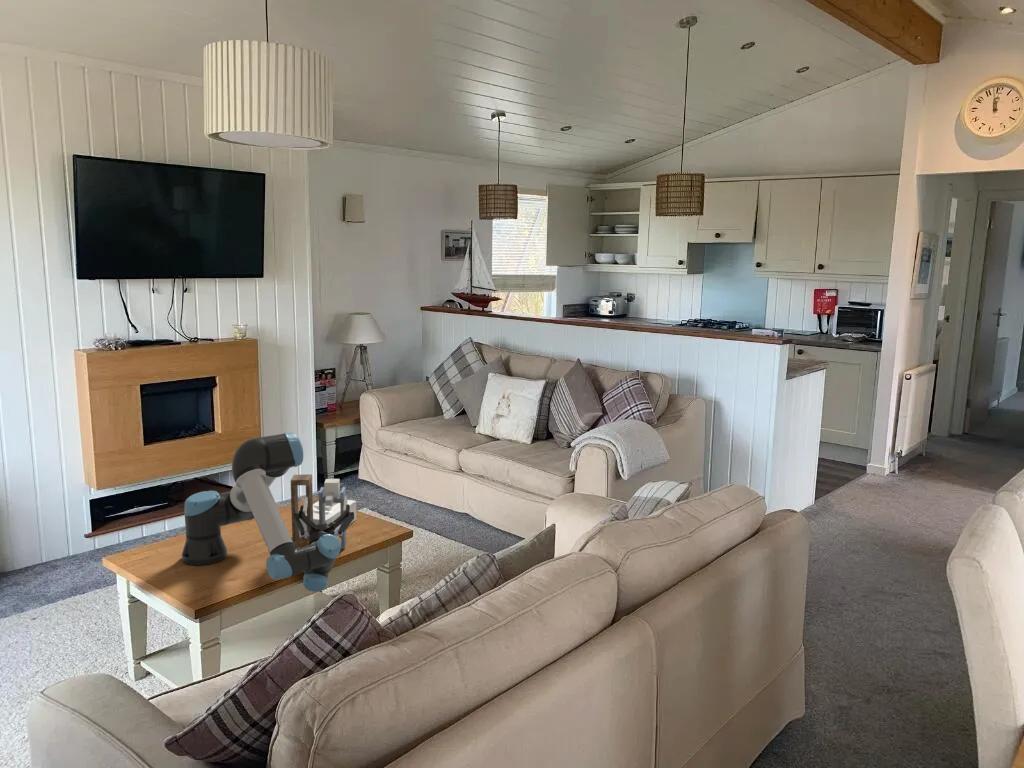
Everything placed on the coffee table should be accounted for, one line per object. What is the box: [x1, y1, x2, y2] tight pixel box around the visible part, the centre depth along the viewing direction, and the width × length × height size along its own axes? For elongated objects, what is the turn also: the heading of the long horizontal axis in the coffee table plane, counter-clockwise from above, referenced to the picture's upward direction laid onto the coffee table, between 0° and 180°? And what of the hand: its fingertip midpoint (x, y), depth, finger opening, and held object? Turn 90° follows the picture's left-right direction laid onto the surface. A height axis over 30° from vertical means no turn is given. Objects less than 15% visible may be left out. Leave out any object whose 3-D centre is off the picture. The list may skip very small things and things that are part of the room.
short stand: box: [318, 486, 348, 550], centre depth 288 cm, size 9×7×22 cm
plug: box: [323, 478, 341, 506], centre depth 282 cm, size 5×14×6 cm, turn 6°
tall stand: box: [290, 474, 314, 548], centre depth 283 cm, size 6×7×28 cm
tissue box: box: [299, 499, 357, 540], centre depth 308 cm, size 14×25×11 cm, turn 165°
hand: (326, 498), depth 270 cm, fingers open, 13 cm apart
